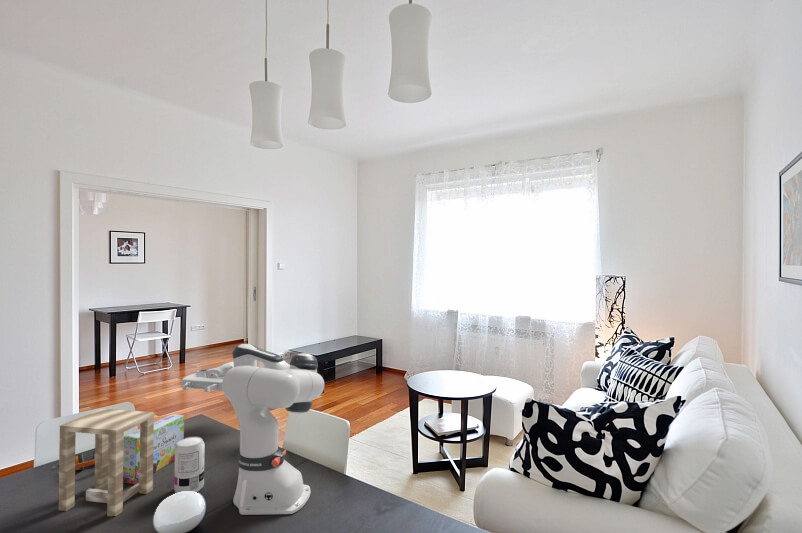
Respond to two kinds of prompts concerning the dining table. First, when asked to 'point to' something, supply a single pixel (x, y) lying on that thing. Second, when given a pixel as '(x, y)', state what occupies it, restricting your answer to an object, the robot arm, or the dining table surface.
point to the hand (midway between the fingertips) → (195, 388)
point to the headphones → (82, 461)
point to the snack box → (163, 447)
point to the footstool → (106, 457)
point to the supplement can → (189, 465)
